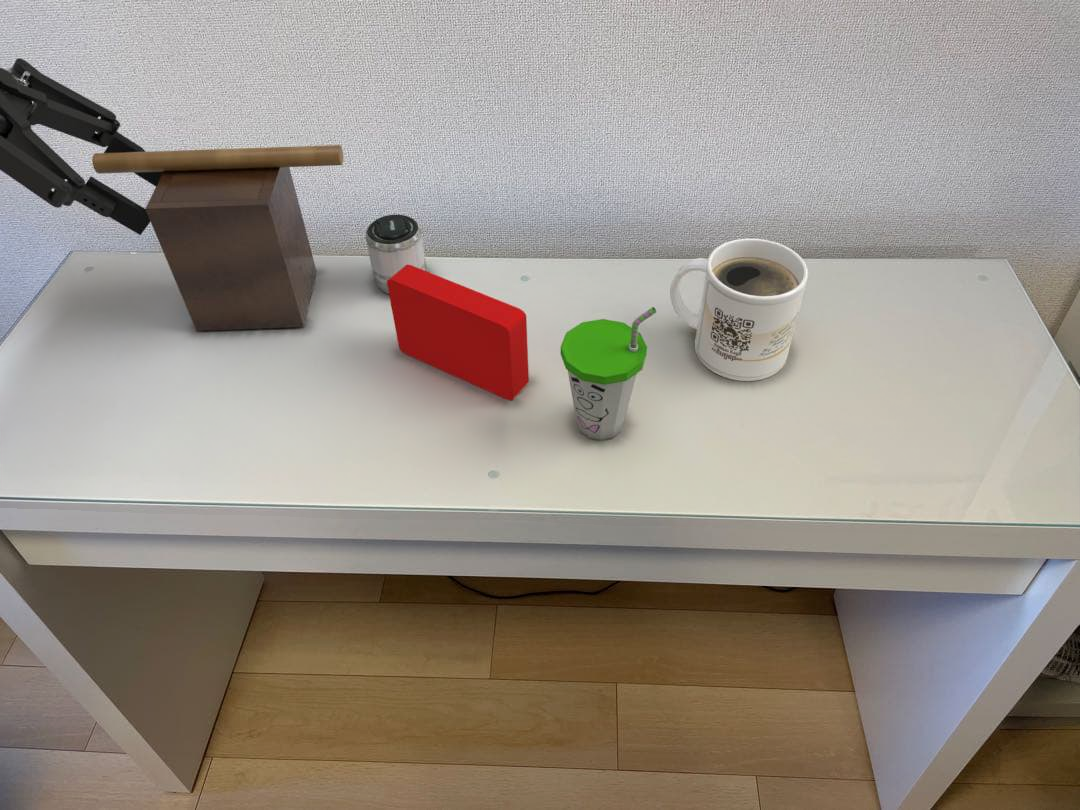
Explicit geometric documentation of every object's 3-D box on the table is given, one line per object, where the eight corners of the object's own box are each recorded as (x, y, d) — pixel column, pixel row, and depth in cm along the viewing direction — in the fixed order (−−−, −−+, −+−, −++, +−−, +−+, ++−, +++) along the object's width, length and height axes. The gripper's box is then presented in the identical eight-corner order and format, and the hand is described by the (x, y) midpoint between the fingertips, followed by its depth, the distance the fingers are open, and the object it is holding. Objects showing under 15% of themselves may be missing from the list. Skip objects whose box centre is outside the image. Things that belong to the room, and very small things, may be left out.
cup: (545, 432, 84) (543, 315, 73) (587, 385, 88) (591, 268, 78) (613, 466, 81) (621, 349, 70) (653, 415, 85) (667, 298, 74)
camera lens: (423, 261, 104) (415, 205, 98) (432, 292, 99) (424, 236, 94) (371, 269, 103) (360, 214, 97) (378, 301, 98) (367, 245, 93)
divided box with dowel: (137, 333, 95) (161, 276, 102) (362, 324, 95) (371, 269, 102) (69, 193, 82) (102, 139, 89) (330, 184, 82) (343, 131, 89)
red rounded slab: (529, 385, 89) (526, 310, 81) (513, 402, 87) (509, 328, 80) (416, 335, 94) (404, 262, 87) (399, 351, 93) (386, 277, 85)
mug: (720, 395, 87) (736, 311, 79) (661, 325, 95) (670, 242, 87) (805, 364, 90) (829, 281, 82) (742, 299, 98) (757, 217, 90)
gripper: (-47, 38, 87) (167, 172, 98) (-151, 141, 72) (112, 284, 84) (-20, -19, 83) (199, 128, 95) (-125, 78, 69) (147, 237, 81)
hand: (158, 201), depth 90 cm, fingers open, 8 cm apart
